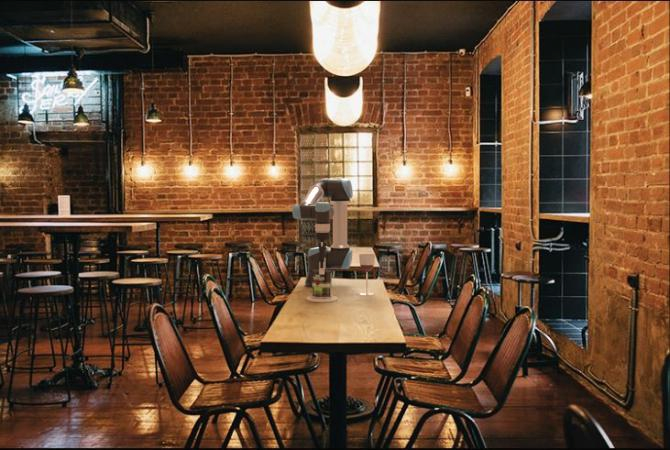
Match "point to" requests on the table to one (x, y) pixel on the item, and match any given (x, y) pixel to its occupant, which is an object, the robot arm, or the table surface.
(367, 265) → the wineglass
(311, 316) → the table surface
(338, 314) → the table surface
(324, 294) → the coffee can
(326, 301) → the plate
